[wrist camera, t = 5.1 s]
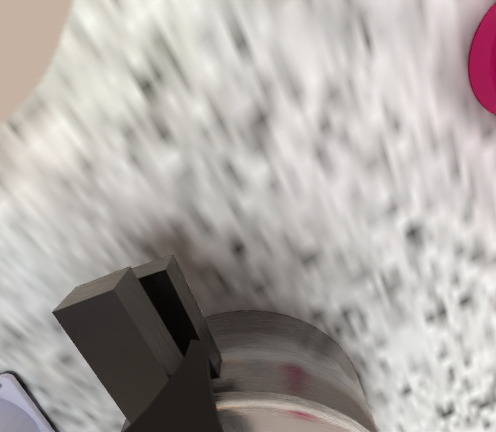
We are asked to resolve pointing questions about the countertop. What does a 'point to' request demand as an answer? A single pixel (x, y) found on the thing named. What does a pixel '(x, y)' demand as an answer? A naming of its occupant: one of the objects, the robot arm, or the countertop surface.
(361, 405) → the cooker pot
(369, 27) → the countertop surface
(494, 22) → the pepper mill
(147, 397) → the cooker lid
